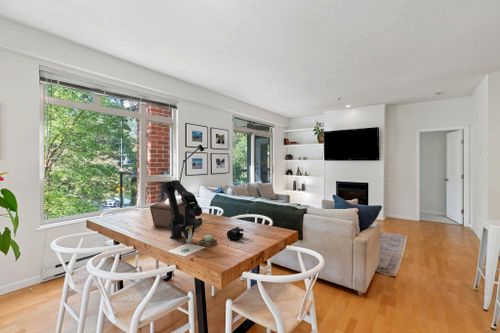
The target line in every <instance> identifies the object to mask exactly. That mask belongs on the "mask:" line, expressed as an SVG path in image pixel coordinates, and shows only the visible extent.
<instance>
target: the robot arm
mask: <svg viewBox="0 0 500 333" xmlns="http://www.w3.org/2000/svg"><path fill="white" fill-rule="evenodd" d="M161 187H162V189H163V192H164V193H165V194H166V196H167V199H169V204H170V208H171V212H172V217H171V223H170V224H169V228H168V230H171V231H170V232H171V233H170V234H171V236H169V239H174V240H178V239H181V238H183V237H184V238H185V240H186V239H188V231H189V230H190V229H188V227H192V238H193V237H194V233H195V231H196V229H197V228H199V227H200V226H202V225H203V218H202V217H200V216H201V215H202V214H203V208H202V207H201V206H200V204H199V201H198V200H197V199H196V196H195V194H194V193H192V192H191V191H189V190H188V189H186V188H185V187H184V185H183V184H182V183H181V181H180V180H178V179H175V180H171V181H164V182H163V183H162V185H161ZM176 192H177V193H178V194H179V196H181V200H182V201H183V203H184V204H183V206H184V216H183V214H180V213H179V209H178V204H177V200H176V196H177V195H176ZM196 217H199V218H196Z"/></svg>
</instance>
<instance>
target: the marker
mask: <svg viewBox="0 0 500 333" xmlns="http://www.w3.org/2000/svg"><path fill="white" fill-rule="evenodd" d="M188 229H190V230H189V231H188V239H186V238H185V240H186V241H185V244H187V243H189V244H193V237H192V227H188Z"/></svg>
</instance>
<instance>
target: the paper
mask: <svg viewBox="0 0 500 333" xmlns="http://www.w3.org/2000/svg"><path fill="white" fill-rule="evenodd" d="M205 248H206V246H202V245H199V244H193V243H185V244H183V245H180V246H177V247H174V248H173V249H169V250H167V251H166V253H170V254H173V255H176V256H180V257H184V258H186V257H187V256H191V255H192V254H195V253H197V252H199V251H201V250H203V249H205Z"/></svg>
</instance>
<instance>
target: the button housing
mask: <svg viewBox="0 0 500 333" xmlns="http://www.w3.org/2000/svg"><path fill="white" fill-rule="evenodd" d="M215 244H218V239H217V238H213V237H212V241H209V242H206V241H204V238H202V239H199V240H198V246H202V247H207V248H209V247H212V246H214V245H215Z"/></svg>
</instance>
